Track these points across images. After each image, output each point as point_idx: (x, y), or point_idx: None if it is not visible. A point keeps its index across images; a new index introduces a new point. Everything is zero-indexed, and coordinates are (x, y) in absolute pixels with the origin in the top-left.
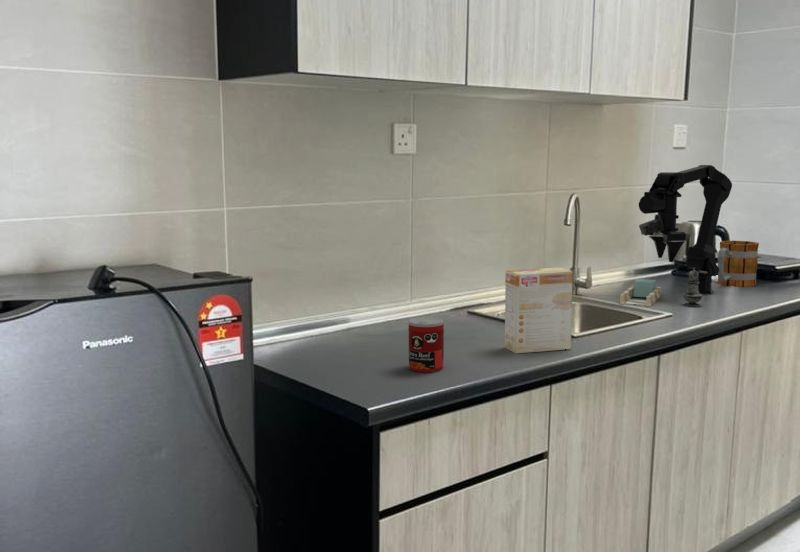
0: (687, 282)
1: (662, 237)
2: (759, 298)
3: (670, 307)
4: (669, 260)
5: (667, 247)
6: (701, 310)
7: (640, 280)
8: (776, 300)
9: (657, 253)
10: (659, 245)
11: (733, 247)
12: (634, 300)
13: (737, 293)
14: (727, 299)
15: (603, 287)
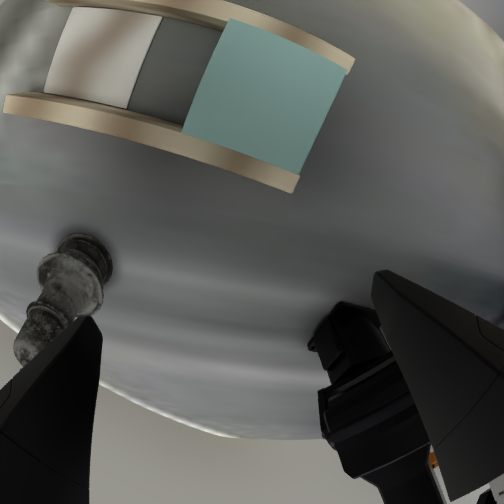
0: (37, 301)
1: (485, 475)
2: (247, 411)
3: (31, 182)
4: (71, 324)
5: (2, 421)
6: (25, 271)
7: (279, 69)
8: (225, 425)
9: (414, 287)
10: (453, 376)
11: (434, 454)
12: (133, 37)
13: (316, 389)
14: (225, 368)
15: (462, 20)
